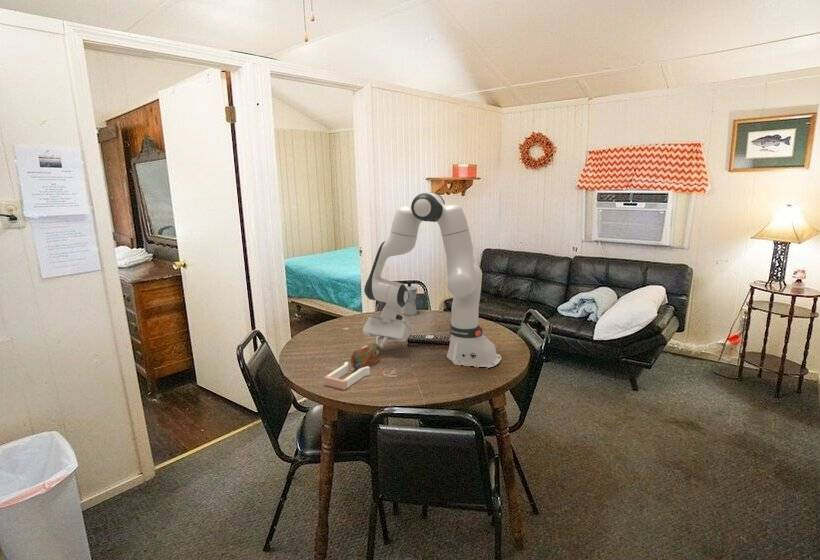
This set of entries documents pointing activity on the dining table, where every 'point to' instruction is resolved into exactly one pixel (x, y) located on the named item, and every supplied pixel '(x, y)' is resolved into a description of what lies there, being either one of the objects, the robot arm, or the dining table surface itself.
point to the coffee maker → (411, 301)
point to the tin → (365, 356)
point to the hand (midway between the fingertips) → (379, 347)
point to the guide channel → (338, 383)
